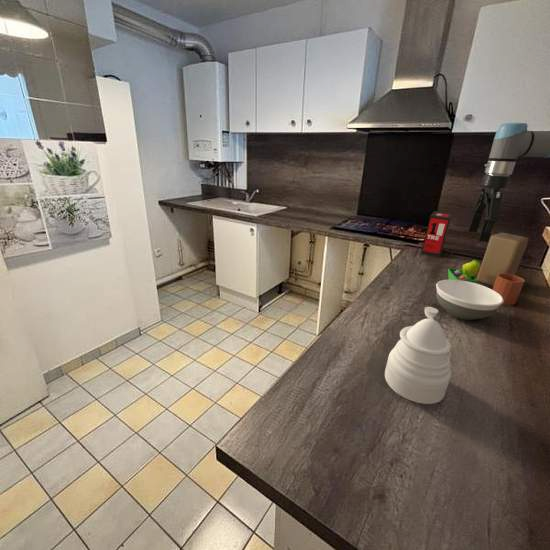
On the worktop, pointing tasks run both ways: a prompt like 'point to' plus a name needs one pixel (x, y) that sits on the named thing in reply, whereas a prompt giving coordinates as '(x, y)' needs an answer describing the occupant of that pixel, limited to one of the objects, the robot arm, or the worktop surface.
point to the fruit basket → (465, 272)
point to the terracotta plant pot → (508, 287)
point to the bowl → (467, 299)
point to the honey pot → (420, 362)
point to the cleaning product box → (436, 233)
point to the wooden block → (501, 256)
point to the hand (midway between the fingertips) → (477, 236)
